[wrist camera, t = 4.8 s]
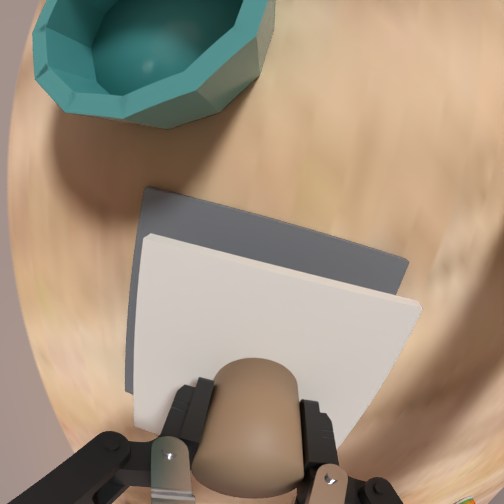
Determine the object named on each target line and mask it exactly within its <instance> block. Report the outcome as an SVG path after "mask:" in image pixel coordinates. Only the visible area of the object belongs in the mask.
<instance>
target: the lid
mask: <svg viewBox="0 0 504 504" xmlns="http://www.w3.org/2000/svg"><path fill="white" fill-rule="evenodd" d="M422 309H423V308H422V306H421V305H420V304H419V303H418V302H417V301H416V300H413V299H409V298H405V297H401V296H397V295H393V294H388V293H384V292H380V291H376V290H372V289H368V288H364V287H360V286H356V285H352V284H348V283H344V282H340V281H336V280H332V279H328V278H324V277H320V276H316V275H312V274H308V273H304V272H300V271H296V270H292V269H288V268H284V267H280V266H276V265H272V264H268V263H264V262H261V261H257V260H253V259H249V258H245V257H241V256H237V255H233V254H229V253H225V252H221V251H218V250H214V249H210V248H206V247H202V246H198V245H194V244H190V243H187V242H183V241H179V240H175V239H171V238H167V237H163V236H160V235H156V234H152V233H150V234H149V235H147V236H146V237H144V238H143V244H142V252H141V261H140V270H139V280H138V291H137V304H136V318H135V337H134V374H133V394H134V427H137V428H140V429H143V430H146V431H148V432H151V433H154V434H157V435H160V434H161V431H162V429H163V426H164V424H165V421H166V418H167V416H168V413H169V410H170V408H171V405H172V403H173V401H174V397H175V395H176V392H177V390H179V389H180V388H181V387H182V386H183V385H184V384H185V385H189V386H192V387H196V384H197V381H198V378H199V377H202V378H206V379H210V380H214V381H215V382H214V386H213V390H212V394H211V398H210V402H209V406H208V410H207V414H206V418H205V422H204V426H203V430H202V434H201V438H200V442H199V446H198V450H197V452H196V454H195V456H194V459H193V463H192V467H191V470H192V473H193V475H194V477H195V478H196V479H197V480H198V481H199V482H200V483H201V484H202V485H204V486H206V487H207V488H209V489H211V490H213V491H216V492H218V493H221V494H225V495H229V496H233V497H240V498H268V497H274V496H278V495H282V494H285V493H287V492H290V491H292V490H293V489H295V488H296V487H298V486H299V485H300V484H301V482H302V481H303V478H304V468H303V451H302V435H301V421H300V407H299V402H300V401H301V399H306V400H312V401H318V403H319V408H320V412H321V413H327V415H328V417H329V418H330V420H331V421H332V425H333V432H334V437H335V438H334V439H335V443H336V449H338V447H339V446H340V445H341V444H342V442H343V441H344V440H345V438H346V437H347V436H348V434H349V433H350V431H351V430H352V429H353V427H354V426H355V425H356V423H357V422H358V420H359V419H360V417H361V416H362V415H363V413H364V412H365V410H366V409H367V407H368V406H369V404H370V403H371V401H372V400H373V398H374V396H375V395H376V393H377V392H378V390H379V389H380V387H381V385H382V384H383V382H384V380H385V379H386V377H387V375H388V374H389V372H390V370H391V369H392V367H393V365H394V363H395V362H396V360H397V358H398V356H399V355H400V353H401V351H402V349H403V347H404V345H405V343H406V342H407V340H408V338H409V336H410V334H411V332H412V330H413V328H414V326H415V324H416V322H417V320H418V318H419V316H420V314H421V311H422Z"/></svg>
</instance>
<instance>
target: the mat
mask: <svg viewBox="0 0 504 504" xmlns="http://www.w3.org/2000/svg"><path fill="white" fill-rule="evenodd" d="M150 233H152V234H156V235H160V236H163V237H167V238H171V239H175V240H179V241H183V242H187V243H190V244H194V245H198V246H202V247H206V248H210V249H214V250H218V251H221V252H225V253H229V254H233V255H237V256H241V257H245V258H249V259H253V260H257V261H261V262H264V263H268V264H272V265H276V266H280V267H284V268H288V269H292V270H296V271H300V272H304V273H308V274H312V275H316V276H320V277H324V278H328V279H332V280H336V281H340V282H344V283H348V284H352V285H356V286H360V287H364V288H368V289H372V290H376V291H380V292H384V293H388V294H393V295H396V293H397V291H398V288H399V286H400V284H401V281H402V279H403V277H404V274H405V272H406V269H407V267H408V264H409V261H408V260H407V259H405V258H402V257H399V256H396V255H392V254H389V253H386V252H383V251H380V250H377V249H374V248H370V247H367V246H364V245H361V244H358V243H354V242H351V241H348V240H345V239H341V238H338V237H335V236H331V235H328V234H325V233H321V232H318V231H314V230H311V229H308V228H304V227H301V226H297V225H294V224H290V223H287V222H283V221H280V220H276V219H272V218H269V217H265V216H262V215H258V214H254V213H251V212H247V211H243V210H240V209H236V208H232V207H228V206H224V205H221V204H217V203H213V202H209V201H205V200H201V199H197V198H193V197H189V196H185V195H181V194H177V193H173V192H169V191H165V190H161V189H157V188H153V187H145V189H144V194H143V200H142V205H141V211H140V217H139V223H138V229H137V236H136V243H135V250H134V258H133V266H132V274H131V284H130V294H129V305H128V318H127V335H126V358H125V391H126V392H128V393H131V394H133V374H134V337H135V318H136V304H137V291H138V280H139V270H140V261H141V252H142V244H143V238H144V237H146V236H147V235H149V234H150Z"/></svg>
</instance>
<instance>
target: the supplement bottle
mask: <svg viewBox="0 0 504 504" xmlns="http://www.w3.org/2000/svg"><path fill="white" fill-rule="evenodd" d="M455 504H475V501H474V499H473V497H472V496H469V497H466V498H464V499H462V500H460V501H458V502H456V503H455Z"/></svg>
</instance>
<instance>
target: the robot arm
mask: <svg viewBox="0 0 504 504" xmlns="http://www.w3.org/2000/svg"><path fill="white" fill-rule="evenodd" d="M214 382H215V381H214V380H210V379H206V378H202V377H199V378H198V381H197V384H196V387H192V386H189V385H185V384H184V385H183V386H182V387H181V388H180V389H179V390H177V392H176V395H175V397H174V401H173V403H172V405H171V408H170V410H169V413H168V416H167V418H166V421H165V424H164V426H163V429H162V431H161V434H160V435H159V436H158V437H157V438H156V439H154V440H152V441H149V442H131V441H128V440H127V439H126V437H124V436H123V435H122V434H120V433H117V432H113V431H106V432H102V433H100V434H99V435H97V436H96V437H95V438H94V439H92V440H91V441H90V442H89V443H87V444H86V445H85V446H84V447H82V448H81V449H80V450H78V451H77V452H76V453H75V454H73V455H72V456H71V457H70V458H68V459H67V460H66V461H65V462H63V463H62V464H60V465H59V466H58V467H57V468H56V469H54V470H53V471H51V472H50V473H49V474H47V475H46V476H45V477H44V478H42V479H41V480H39V481H38V482H37V483H35V484H34V485H33V486H31V487H30V488H28V489H27V490H26V491H24V492H23V493H22V494H20V495H19V496H17V497H16V498H15V499H13V500H12V501H11V502H9V503H8V504H112V503H113V502H114V501H115V500H116V499H117V498H118V497H119V496H120V495H121V494H122V493H123V492H124V491H125V490H126V489H127V488H128V487H129V486H142V487H151V504H196V501H195V497H194V495H193V493H192V485H191V475H190V470H191V467H192V463H193V459H194V456H195V454H196V452H197V450H198V446H199V442H200V438H201V434H202V430H203V426H204V422H205V418H206V414H207V410H208V406H209V402H210V398H211V394H212V390H213V386H214ZM299 407H300V421H301V435H302V451H303V468H304V478H303V481H302V482H301V484H300V485H299V486H298V487H296V488H297V494H296V495H295V496H294V498H293V501H292V504H403V502H402V501H401V499H400V498H399V496H398V495H397V493H396V492H395V490H394V489H393V487H392V485H391V484H390V483H389V482H388V481H387V480H385V479H383V478H380V477H374V478H371V479H369V480H368V481H367V482H365V481H361V480H357V479H354V478H351V477H349V476H348V475H347V473H346V471H345V470H344V469H343V468H342V467H340V466H339V462H338V456H337V449H336V443H335V439H334V438H335V437H334V432H333V425H332V421H331V420H330V418H329V417H328V415H327V413H321V412H320V408H319V403H318V401H312V400H306V399H301V401H300V402H299Z"/></svg>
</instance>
